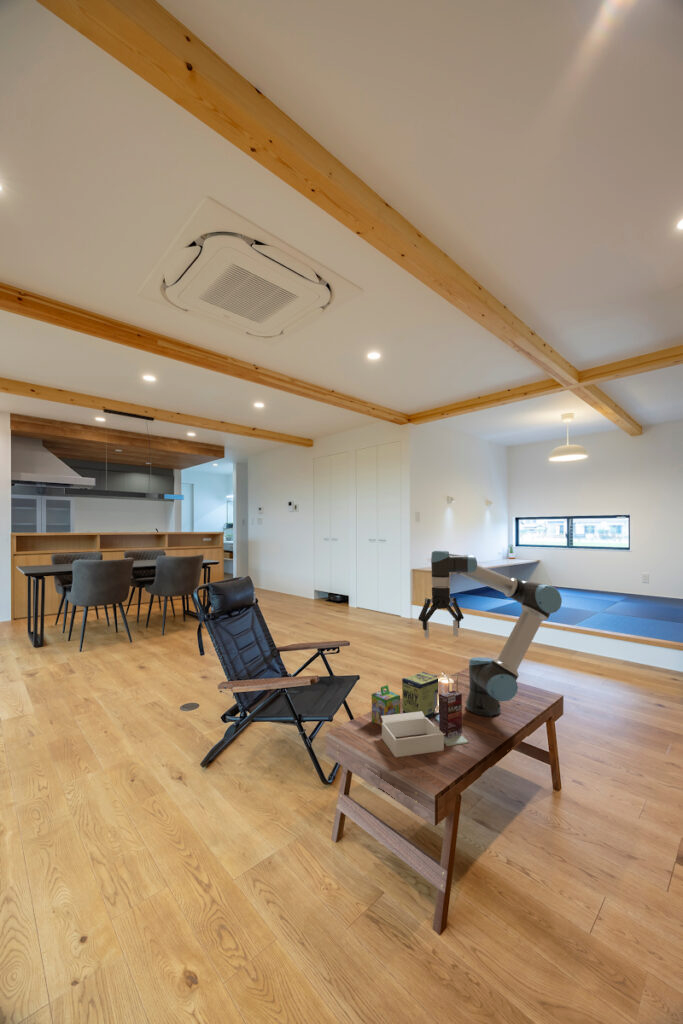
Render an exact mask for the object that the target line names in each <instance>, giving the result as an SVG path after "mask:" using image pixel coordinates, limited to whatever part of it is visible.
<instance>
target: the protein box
mask: <svg viewBox="0 0 683 1024" xmlns="http://www.w3.org/2000/svg"><path fill="white" fill-rule="evenodd" d="M437 677H438V676H437V675H435V674H431V673H428V672H425V671H421V672H419V673H416V674H413V675H410V676H407V677H406V676H405V677H403V678H401V680H402V681H401V682H402V683H401V686H402V687H401V689H402V693H401V695H402V713H411V712H420V711H422V712H423V714H424V716H425V717H427V718H428V719H429V718H431V717H434V716H435V715H434V711H435V708H436V706H437V694H438V678H437Z"/></svg>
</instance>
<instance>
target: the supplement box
mask: <svg viewBox="0 0 683 1024" xmlns="http://www.w3.org/2000/svg"><path fill="white" fill-rule="evenodd" d="M462 696H463V695H462V693H460V692H459V691H456V690H451V691H447V692H443V693H441V694H439V713H438V723H439V725H438V726H439V727H438V728H439V730H440V731H441V732H442V733H443V734H444V733H446V734H445V735H444V738H446V739H450V738H452V737H455V736H458V735H463V711H462V710H463V702H462V701H463V700H462V699H463V697H462Z"/></svg>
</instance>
